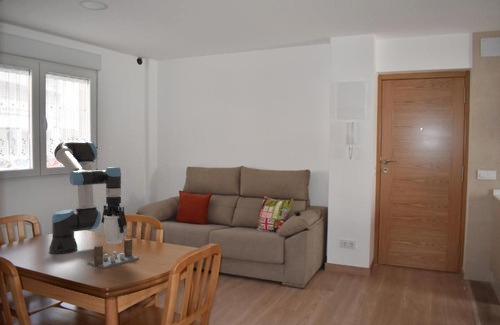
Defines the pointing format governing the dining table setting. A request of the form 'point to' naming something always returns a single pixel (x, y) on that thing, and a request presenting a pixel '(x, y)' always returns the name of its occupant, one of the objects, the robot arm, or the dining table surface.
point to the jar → (111, 229)
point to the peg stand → (114, 260)
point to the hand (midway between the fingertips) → (113, 237)
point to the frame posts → (99, 252)
